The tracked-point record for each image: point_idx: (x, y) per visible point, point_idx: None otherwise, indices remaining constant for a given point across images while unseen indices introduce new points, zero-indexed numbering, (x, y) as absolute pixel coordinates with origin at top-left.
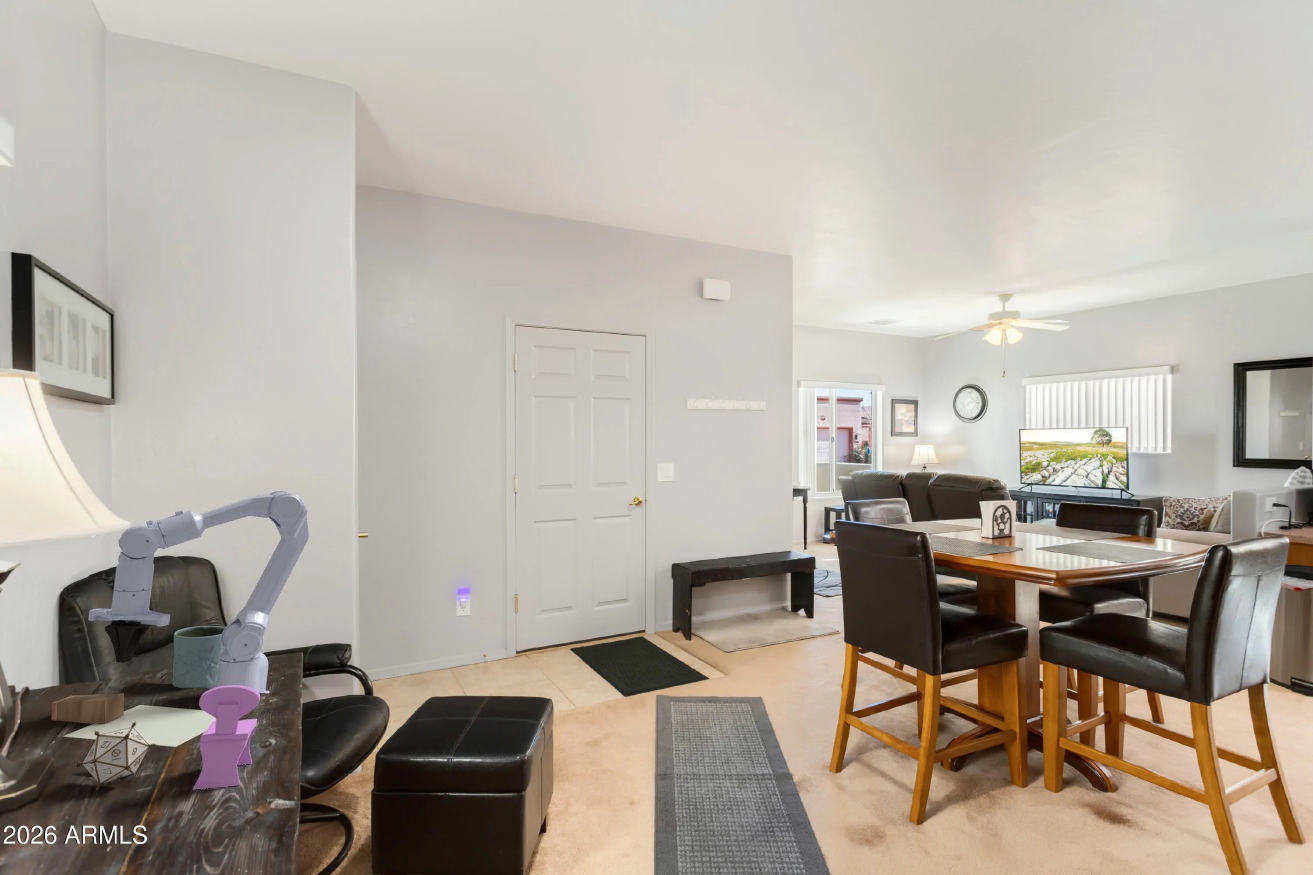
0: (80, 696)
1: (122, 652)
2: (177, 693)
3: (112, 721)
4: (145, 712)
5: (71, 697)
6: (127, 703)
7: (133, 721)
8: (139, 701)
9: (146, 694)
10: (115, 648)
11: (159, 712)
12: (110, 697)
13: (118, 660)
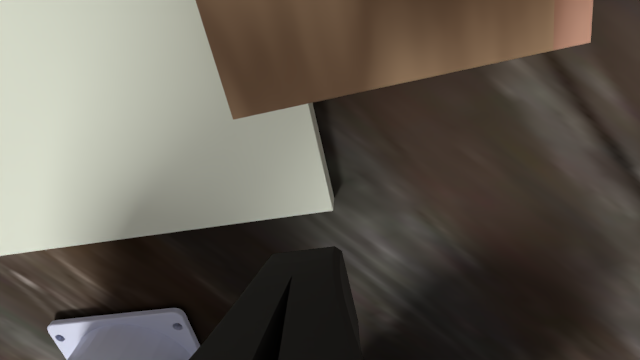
0: (500, 30)
1: (232, 316)
2: (377, 356)
3: None
4: (222, 154)
5: (554, 4)
6: (451, 234)
7: (146, 51)
8: (427, 263)
9: (473, 321)
10: (319, 339)
11: (173, 174)
12: (227, 33)
13: (304, 255)
